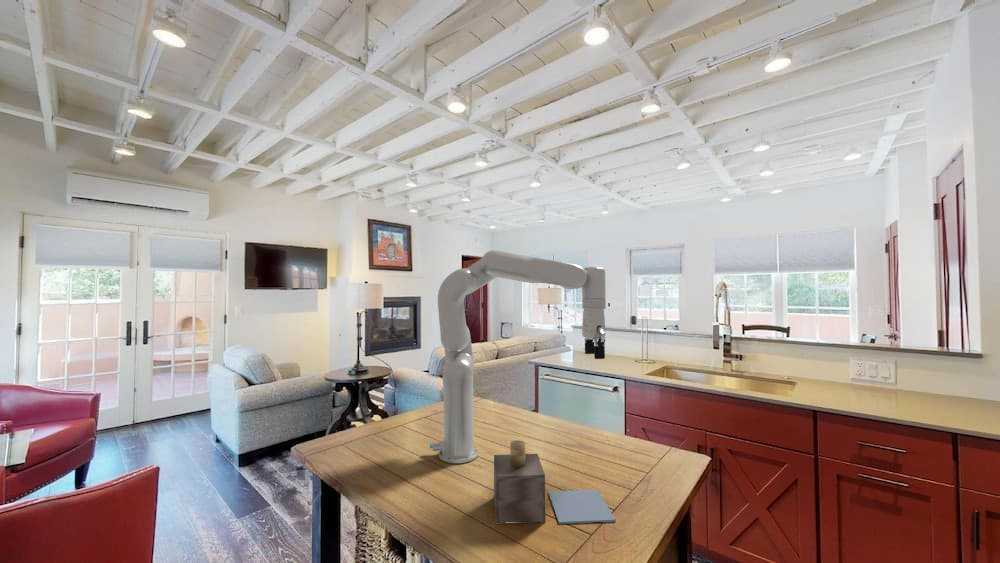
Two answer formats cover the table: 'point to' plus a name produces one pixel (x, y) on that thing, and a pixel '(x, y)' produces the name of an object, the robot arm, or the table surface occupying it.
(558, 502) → the mat
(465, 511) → the table surface
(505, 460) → the cover
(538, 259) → the robot arm
